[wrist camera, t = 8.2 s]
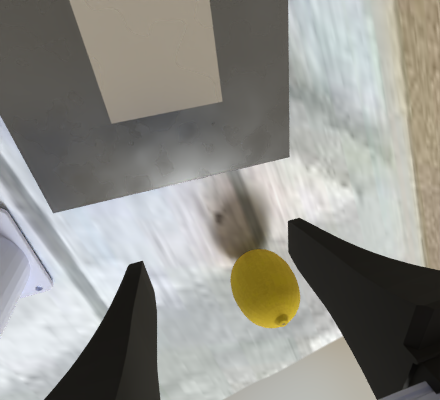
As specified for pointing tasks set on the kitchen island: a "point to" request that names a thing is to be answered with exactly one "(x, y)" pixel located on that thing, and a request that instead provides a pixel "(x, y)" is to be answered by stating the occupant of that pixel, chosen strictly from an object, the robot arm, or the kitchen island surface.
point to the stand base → (147, 126)
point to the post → (150, 54)
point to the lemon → (265, 288)
